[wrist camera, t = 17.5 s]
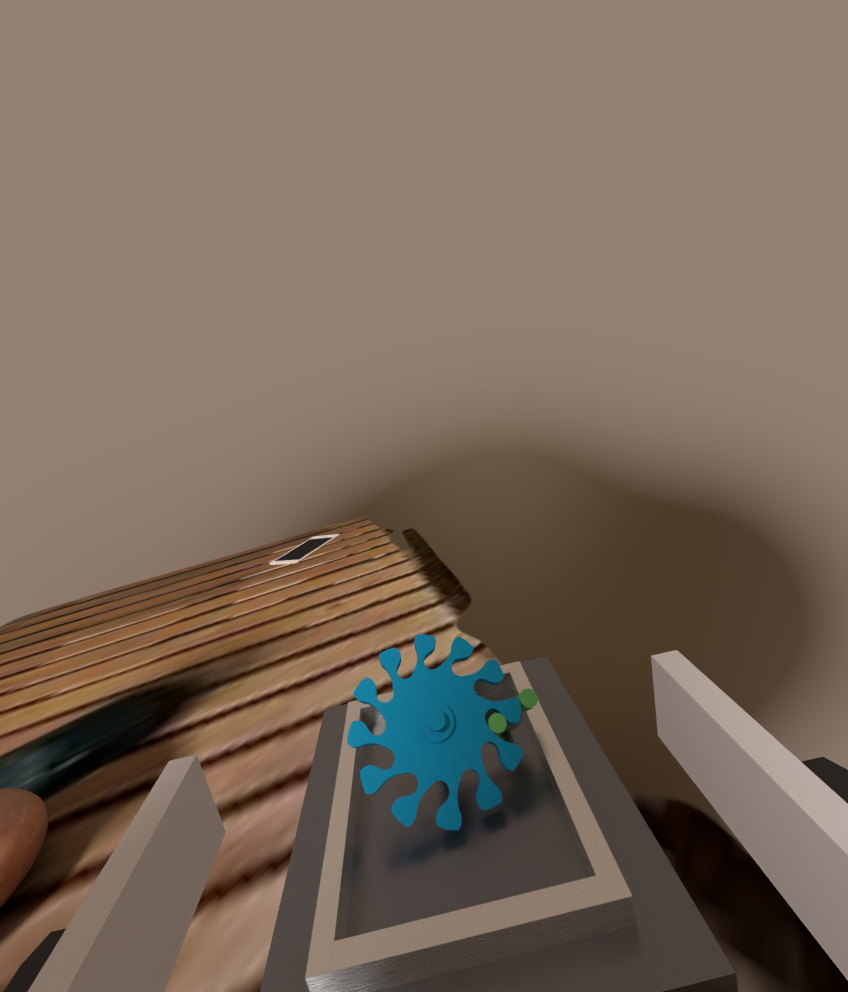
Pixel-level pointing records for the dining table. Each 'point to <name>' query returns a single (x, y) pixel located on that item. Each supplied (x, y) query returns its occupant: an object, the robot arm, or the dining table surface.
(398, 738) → the gear
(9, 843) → the ceramic jug
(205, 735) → the dining table surface
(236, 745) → the dining table surface
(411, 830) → the grey open tray
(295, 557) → the cell phone
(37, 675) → the dining table surface
